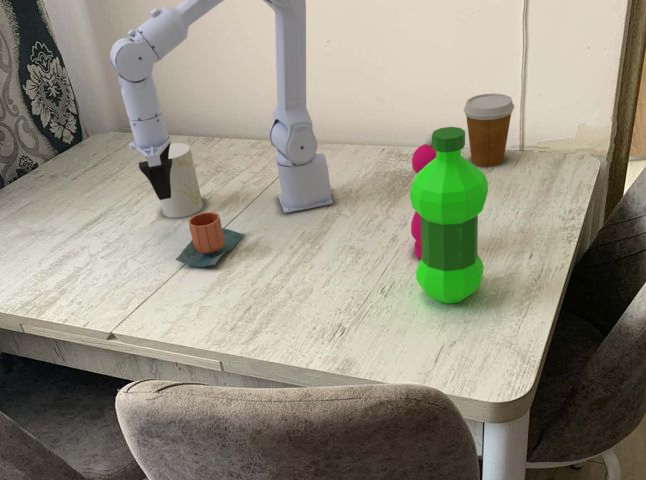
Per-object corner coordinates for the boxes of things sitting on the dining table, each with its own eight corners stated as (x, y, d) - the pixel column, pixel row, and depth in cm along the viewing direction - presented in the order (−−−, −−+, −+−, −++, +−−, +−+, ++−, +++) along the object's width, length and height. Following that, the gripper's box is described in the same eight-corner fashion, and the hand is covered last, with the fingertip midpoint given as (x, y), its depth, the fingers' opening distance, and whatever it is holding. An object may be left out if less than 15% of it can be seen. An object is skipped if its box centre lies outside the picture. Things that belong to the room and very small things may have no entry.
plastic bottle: (411, 279, 114) (404, 123, 100) (479, 273, 113) (483, 115, 99) (417, 315, 106) (411, 151, 92) (491, 309, 105) (496, 142, 91)
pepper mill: (428, 268, 117) (425, 148, 105) (403, 250, 122) (397, 135, 110) (465, 253, 119) (465, 134, 107) (438, 237, 124) (436, 122, 113)
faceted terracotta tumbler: (223, 235, 131) (217, 209, 128) (226, 250, 127) (220, 223, 124) (193, 242, 131) (187, 215, 128) (196, 256, 126) (189, 229, 123)
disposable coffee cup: (475, 148, 153) (476, 91, 146) (519, 154, 148) (522, 94, 141) (455, 166, 147) (455, 107, 140) (500, 172, 142) (502, 111, 135)
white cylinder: (195, 217, 143) (181, 158, 136) (157, 218, 145) (141, 160, 138) (208, 198, 149) (195, 142, 142) (171, 200, 151) (156, 144, 144)
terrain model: (206, 232, 136) (204, 223, 135) (244, 236, 134) (243, 227, 133) (175, 268, 127) (173, 258, 126) (216, 272, 125) (214, 263, 123)
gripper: (122, 106, 128) (142, 178, 136) (120, 133, 117) (142, 210, 125) (162, 99, 129) (179, 171, 137) (164, 125, 117) (183, 202, 125)
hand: (164, 189), depth 131 cm, fingers open, 7 cm apart
